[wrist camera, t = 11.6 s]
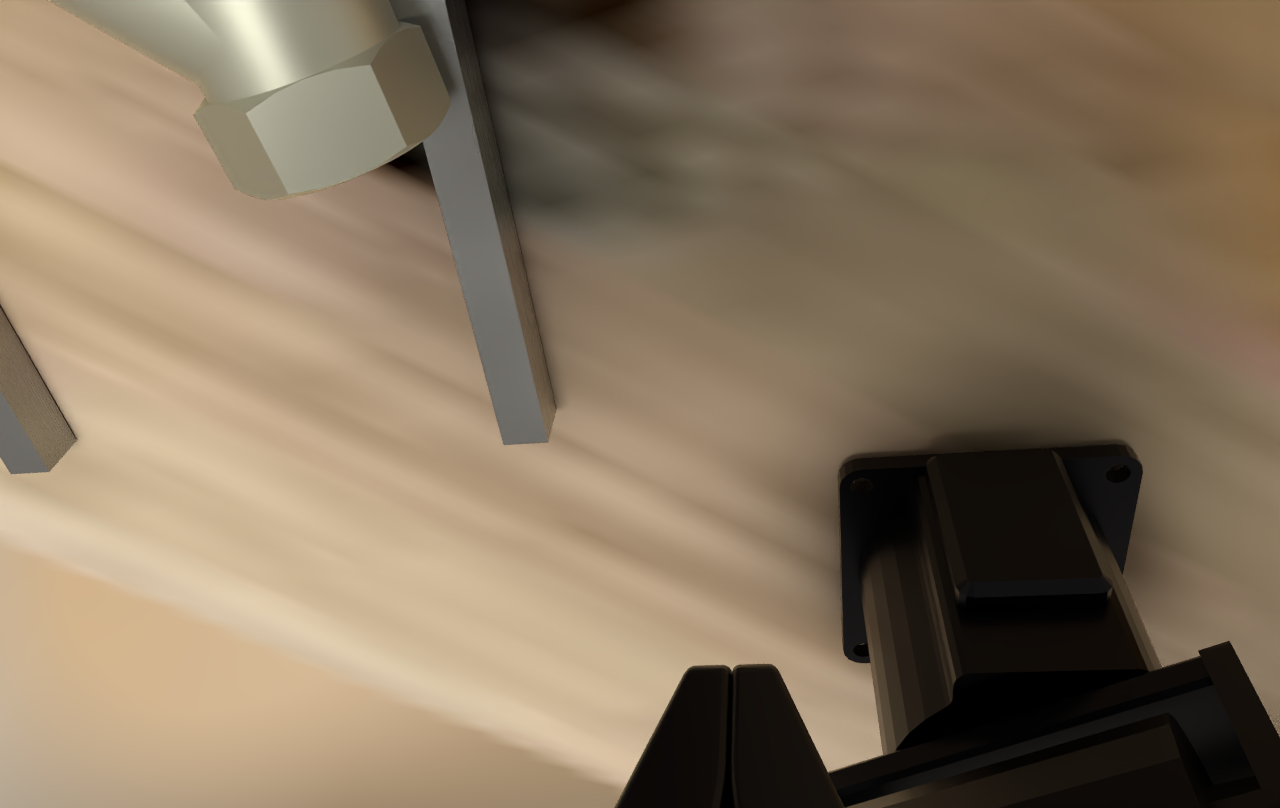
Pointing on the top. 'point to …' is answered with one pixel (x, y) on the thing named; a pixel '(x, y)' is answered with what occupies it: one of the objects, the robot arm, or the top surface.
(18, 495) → the top surface
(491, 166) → the grey metal bars
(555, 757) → the top surface
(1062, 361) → the top surface
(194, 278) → the top surface
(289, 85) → the pipe fitting
